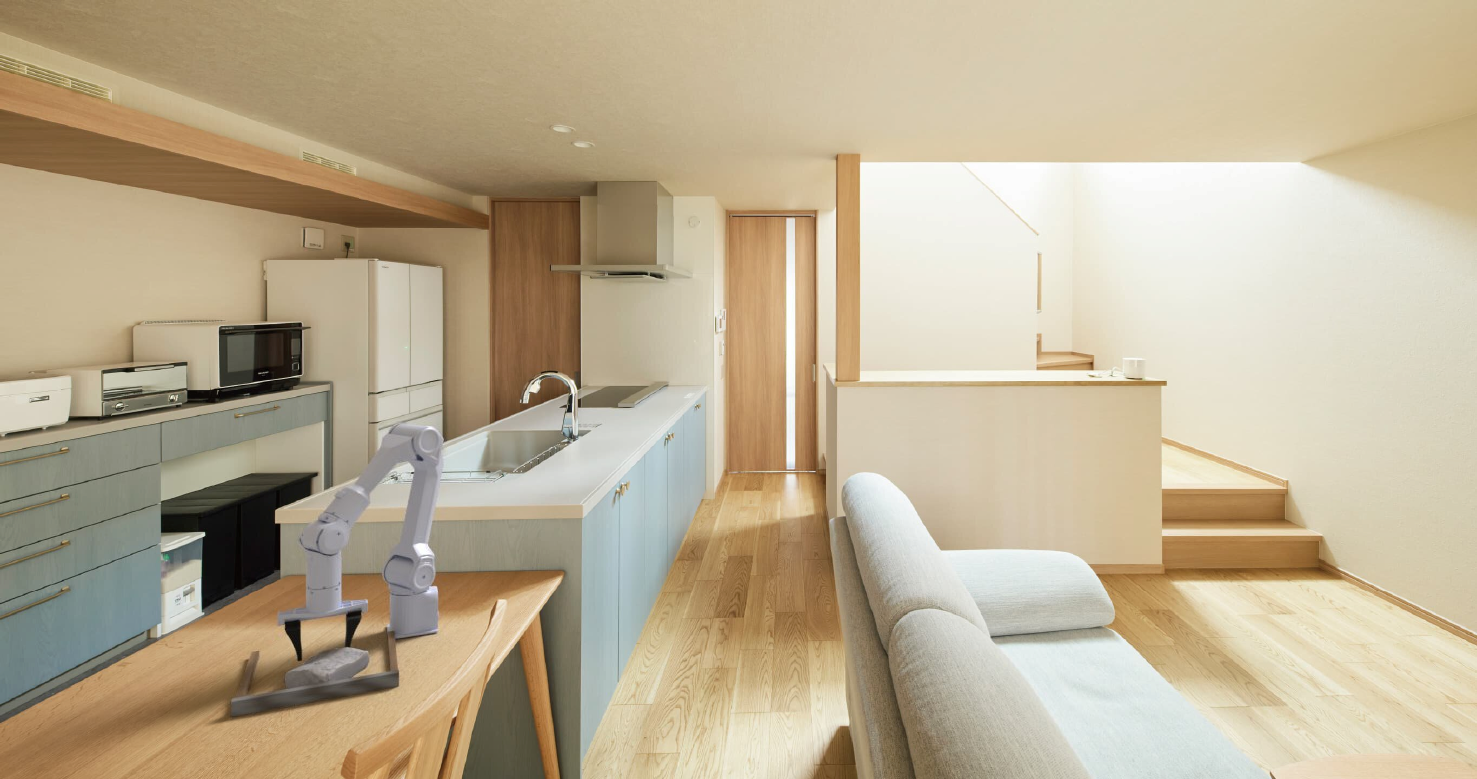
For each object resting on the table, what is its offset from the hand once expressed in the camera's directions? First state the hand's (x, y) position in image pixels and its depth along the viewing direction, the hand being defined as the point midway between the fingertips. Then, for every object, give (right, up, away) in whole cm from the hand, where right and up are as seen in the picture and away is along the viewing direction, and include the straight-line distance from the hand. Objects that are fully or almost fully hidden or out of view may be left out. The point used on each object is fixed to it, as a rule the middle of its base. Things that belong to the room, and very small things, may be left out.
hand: (323, 654), depth 130 cm
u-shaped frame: (+1, -2, -2) cm, 3 cm away
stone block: (+3, -3, -5) cm, 6 cm away
